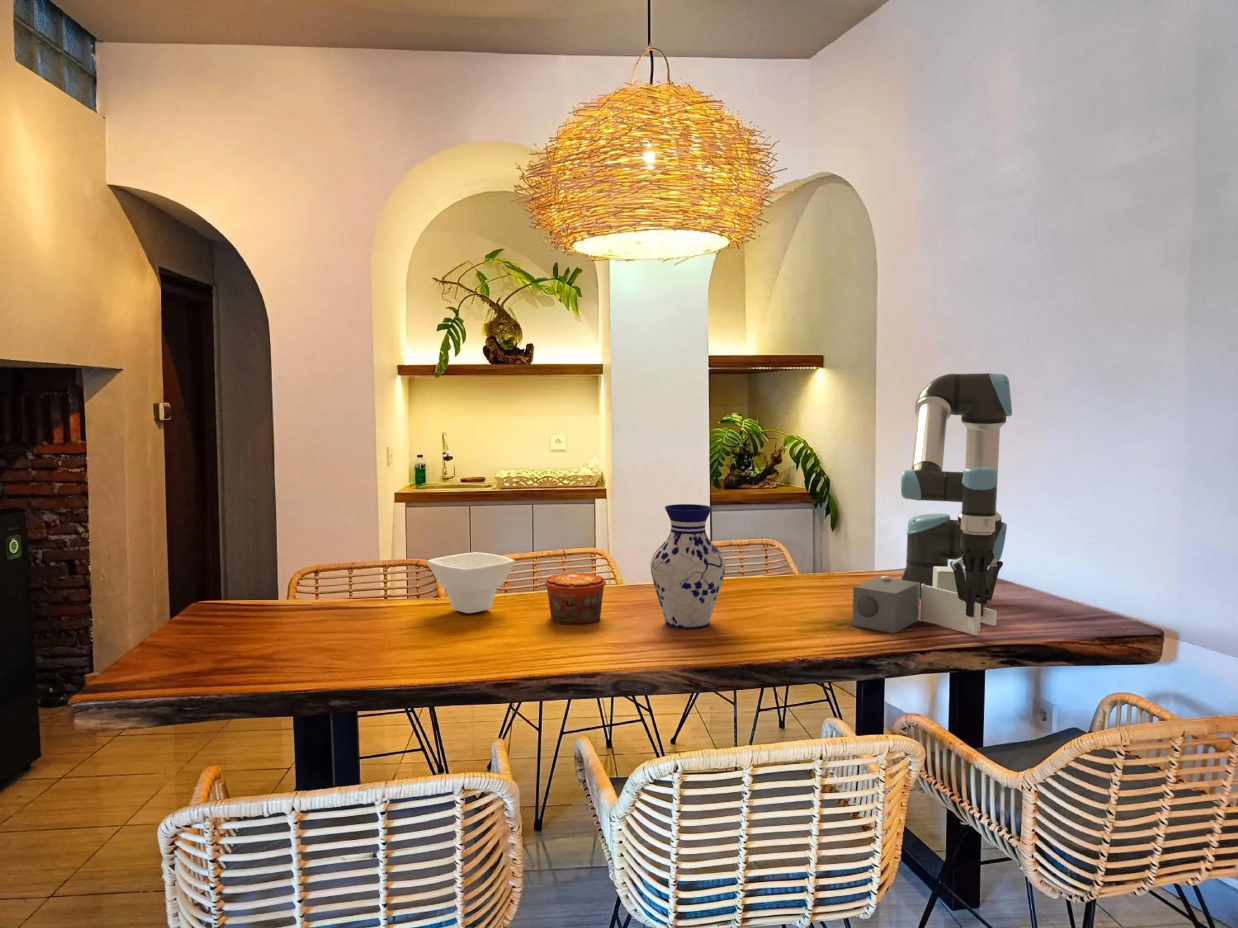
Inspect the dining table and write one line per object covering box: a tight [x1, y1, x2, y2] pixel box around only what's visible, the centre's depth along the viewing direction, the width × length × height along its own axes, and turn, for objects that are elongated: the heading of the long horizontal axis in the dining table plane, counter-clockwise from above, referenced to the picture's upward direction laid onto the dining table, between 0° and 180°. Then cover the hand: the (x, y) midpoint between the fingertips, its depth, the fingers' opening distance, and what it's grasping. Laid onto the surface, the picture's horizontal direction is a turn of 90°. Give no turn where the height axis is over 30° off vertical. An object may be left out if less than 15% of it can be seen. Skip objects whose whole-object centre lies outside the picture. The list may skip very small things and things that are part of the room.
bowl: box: [426, 551, 516, 614], centre depth 230 cm, size 19×19×14 cm
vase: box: [650, 503, 726, 630], centre depth 218 cm, size 19×19×30 cm
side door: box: [919, 584, 998, 636], centre depth 214 cm, size 22×1×10 cm, turn 30°
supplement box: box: [933, 566, 966, 593], centre depth 228 cm, size 7×7×13 cm
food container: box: [544, 571, 607, 626], centre depth 224 cm, size 16×16×11 cm
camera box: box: [852, 575, 921, 634], centre depth 220 cm, size 17×11×11 cm, turn 140°
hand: (973, 629), depth 206 cm, fingers closed
